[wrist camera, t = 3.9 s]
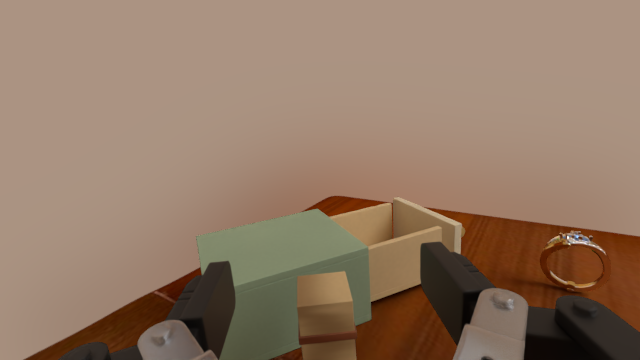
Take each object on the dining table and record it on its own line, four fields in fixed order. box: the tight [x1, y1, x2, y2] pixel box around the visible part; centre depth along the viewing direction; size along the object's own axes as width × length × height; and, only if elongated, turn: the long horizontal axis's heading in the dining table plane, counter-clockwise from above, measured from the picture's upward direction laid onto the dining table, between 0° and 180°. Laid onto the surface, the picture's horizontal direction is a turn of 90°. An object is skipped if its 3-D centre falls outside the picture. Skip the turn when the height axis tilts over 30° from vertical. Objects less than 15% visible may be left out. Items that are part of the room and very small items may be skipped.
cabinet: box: [196, 209, 371, 360], centre depth 41 cm, size 18×15×10 cm
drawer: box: [329, 197, 465, 302], centre depth 48 cm, size 21×14×8 cm, turn 114°
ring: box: [540, 231, 611, 292], centre depth 41 cm, size 7×3×8 cm, turn 50°
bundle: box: [297, 271, 357, 360], centre depth 28 cm, size 4×4×12 cm
